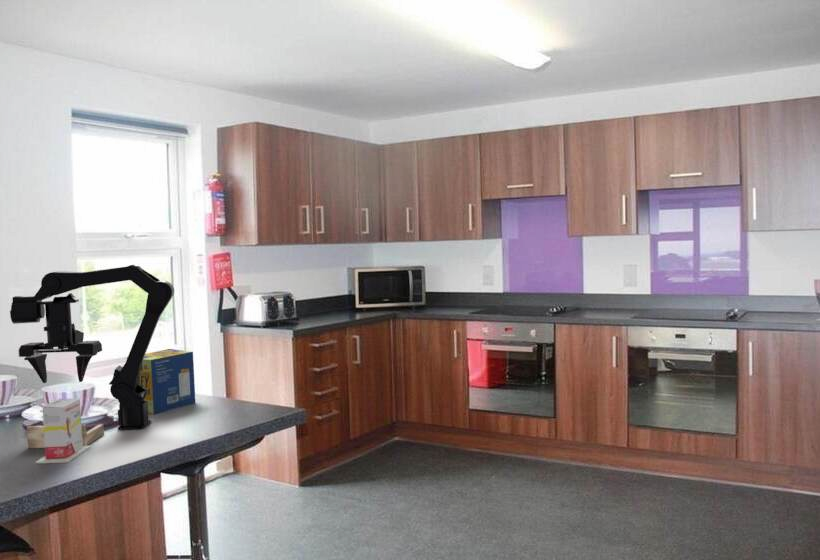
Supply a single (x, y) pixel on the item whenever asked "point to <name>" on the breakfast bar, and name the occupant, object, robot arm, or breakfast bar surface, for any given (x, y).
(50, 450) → the ink box
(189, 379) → the protein box
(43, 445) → the shelf bay
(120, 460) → the breakfast bar surface
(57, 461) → the coaster pad
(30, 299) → the robot arm
